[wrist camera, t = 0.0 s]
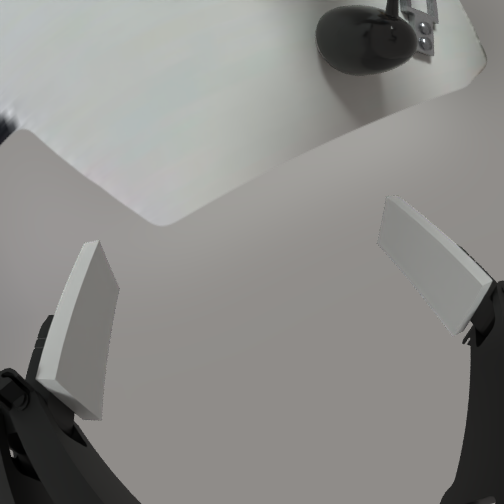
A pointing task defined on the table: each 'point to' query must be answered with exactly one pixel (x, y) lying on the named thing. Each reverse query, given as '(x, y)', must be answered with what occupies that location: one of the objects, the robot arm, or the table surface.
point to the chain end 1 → (405, 3)
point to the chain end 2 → (423, 26)
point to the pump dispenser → (365, 39)
